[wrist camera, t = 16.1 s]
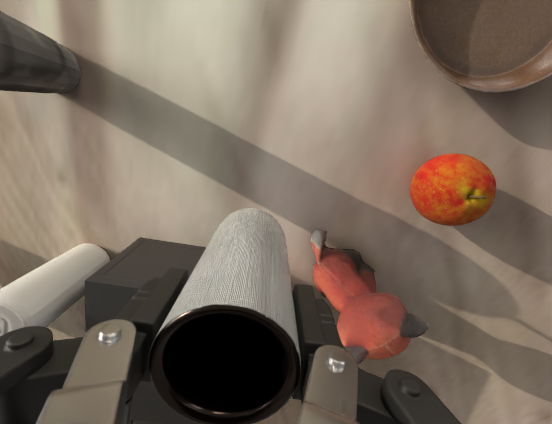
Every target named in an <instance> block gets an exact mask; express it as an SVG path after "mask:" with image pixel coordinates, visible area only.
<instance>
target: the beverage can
mask: <svg viewBox="0 0 552 424" xmlns="http://www.w3.org/2000/svg"><path fill="white" fill-rule="evenodd" d="M109 261H110V258H109V256H108V254H107V253H106V252H105V251H104V250H103V249H102V248H101V247H99V246H97V245H94V244H89V243H86V244H81V245H78V246H76V247H74V248H73V249H71V250H69V251H67V252H65V253H64V254H62V255H60V256H58V257H56V258H55V259H53V260H51V261H49V262H47V263H46V264H44V265H42V266H40V267H38V268H37V269H35V270H33V271H31V272H29V273H28V274H26V275H24V276H22V277H21V278H19V279H17V280H15V281H14V282H12V283H10V284H8V285H7V286H5V287H3V288H1V289H0V336H2V335H4V334H6V333H8V332H10V331H13V330H16V329H19V328H23V327H29V326H42V327H47V326H48V325H49V324H50V323H52V322H53V321H54V320H55V319H56V318H57V317H59V316H60V315H61V314H62V313H63V312H65V311H66V310H67V309H68V308H69V307H70V306H72V305H73V304H74V303H75V302H76V301H78V300H79V299H80V298H81V297H82V296H83V295H85V280H86V279H87V278H88V277H89V276H91V275H92V274H94V273H95V272H96V271H97V270H99V269H100V268H101V267H103V266H104V265H105V264H107V263H108V262H109Z"/></svg>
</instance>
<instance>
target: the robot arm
mask: <svg viewBox="0 0 552 424" xmlns="http://www.w3.org/2000/svg"><path fill="white" fill-rule="evenodd" d="M188 279H189V271H188V270H187V269H179V268H169V270H168V271H167V272H166V273H165V275H164V276H163V277H162V278H157V277H155V278H153V279H151V280H149V281H147V282H146V283H144V284H143V285H142V287H141V288H140V289H139V290H138V292H136V294H135V295H134V296H133V298H132V299H131V300H130V301H129V302H128V303H127V304H126V305H125V307H124V308H123V309H122V310H121V311H120V312H119V314H118V315H117V316H116V317H115V318H114V320H108V321H104V322H101V323H99V324H97V325H95V326H93V327H92V328H90V329H89V330H88V331H87V332H86V334H85V335H84V337H81V338H74V339H65V340H55V341H53V334H52V331H51V330H50V329H48V328H46V327H42V326H29V327H23V328H19V329H16V330H13V331H10V332H8V333H6V334H4V335H2V336H0V424H131V418H132V411H133V404H134V392H135V390H136V389H137V387H138V385H139V383H140V381H142V382H151V381H152V380H151V376H150V371H149V354H150V349H151V346H152V343H153V341H154V339H155V337H156V335H157V333H158V332H159V330H160V328H161V326H162V324H163V323H164V321H165V319H166V317H167V316H168V314H169V312H170V310H171V309H172V307H173V305H174V303H175V302H176V300H177V298H178V296H179V295H180V293H181V291H182V289H183V288H184V286H185V284H186V282H187V281H188ZM293 302H294V310H295V318H296V325H297V333H298V341H299V349H300V358H301V374H300V379H299V382H298V385H297V387H296V390H295V392H294V393H293V395H292V397H293V399H300V400H301V401H302V407H301V411H300V415H299V419H298V423H297V424H461V423H460V422H459V421H458V420H457V418H456V417H455V416H454V415H453V414H452V413H451V412H450V410H449V409H448V408H447V407H446V406H445V405H444V404H443V403H442V401H441V400H440V399H439V398H438V397H437V396H436V395H435V394H434V392H433V391H432V390H431V389H430V388H429V387H428V386H427V385H426V384H425V383H424V382H423V381H422V380H421V379H420V378H418V377H417V376H415V375H413V374H411V373H409V372H406V371H403V370H391V371H389V372H388V373H387V374H386V376H385V379H383V378H380V377H378V376H375V375H372V374H370V373H367V372H365V371H363V370H361V369H360V368H358V364H357V362H356V360H355V358H354V357H353V356H352V355H351V354H350V353H349V352H348V351H346V350H345V349H344V348H343V345H342V342H341V339H340V336H339V333H338V330H337V327H336V325H335V321H334V318H333V315H332V312H331V309H330V307H329V306H328V305H327V303H326V302H325V301H324V300H323V299H316V298H315V296H314V292H313V288H312V286H305V285H298V284H295V286H294V289H293Z"/></svg>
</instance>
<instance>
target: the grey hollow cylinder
mask: <svg viewBox="0 0 552 424" xmlns="http://www.w3.org/2000/svg"><path fill="white" fill-rule="evenodd" d="M149 371H150V376H151V380H152V382H153V385H154V387H155V389H156V391H157V392H158V394H159V395H160V397H161V398H162V399H163V400H164V401H165V403H166V404H167V405H168V406H170V407H171V408H172V409H173V410H175V411H176V412H177V413H179V414H180V415H182V416H184V417H186V418H188V419H190V420H192V421H195V422H197V423H200V424H253V423H256V422H259V421H261V420H264V419H266V418H268V417H270V416H271V415H273V414H274V413H276V412H277V411H278V410H280V409H281V408H282V407H283V406H284V405H285V404H286V403H287V402H288V401H289V399H290V398H291V396H292V395H293V393H294V392H295V390H296V387H297V385H298V382H299V379H300V374H301V358H300V349H299V341H298V333H297V325H296V318H295V310H294V302H293V294H292V286H291V278H290V270H289V262H288V254H287V247H286V239H285V235H284V232H283V229H282V227H281V225H280V224H279V222H278V221H277V220H276V219H275V218H274V217H273V216H271V215H270V214H268V213H267V212H264V211H262V210H259V209H251V208H248V209H241V210H238V211H235V212H233V213H231V214H230V215H228V216H227V217H226V218H225V219H224V220H223V221H222V222H221V224H220V225H219V226H218V228H217V230H216V232H215V233H214V235H213V237H212V239H211V240H210V242H209V244H208V246H207V247H206V249H205V251H204V253H203V254H202V256H201V258H200V260H199V261H198V263H197V265H196V267H195V268H194V270H193V272H192V274H191V275H190V277H189V279H188V281H187V282H186V284H185V286H184V288H183V289H182V291H181V293H180V295H179V296H178V298H177V300H176V302H175V303H174V305H173V307H172V309H171V310H170V312H169V314H168V316H167V317H166V319H165V321H164V323H163V324H162V326H161V328H160V330H159V332H158V333H157V335H156V337H155V339H154V341H153V343H152V346H151V349H150V354H149Z"/></svg>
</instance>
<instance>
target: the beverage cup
mask: <svg viewBox="0 0 552 424" xmlns="http://www.w3.org/2000/svg"><path fill="white" fill-rule="evenodd" d="M79 79H80V68H79V64H78V61H77V60H76V58H75V56H74V55H73V54H72V53H71V51H70V50H69V49H67V48H66V47H64V46H62V45H60V44H58V43H57V42H56V41H54V40H52V39H51V38H49V37H47V36H45V35H44V34H42V33H40V32H38V31H36V30H34V29H33V28H31V27H29V26H27V25H25V24H23V23H21V22H20V21H18V20H16V19H14V18H12V17H10V16H9V15H7V14H5V13H3V12H1V11H0V90H3V91H19V92H36V93H67V92H69V91H71V90H73V89H74V88H75V87H76V86H77V85H78V82H79Z"/></svg>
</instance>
